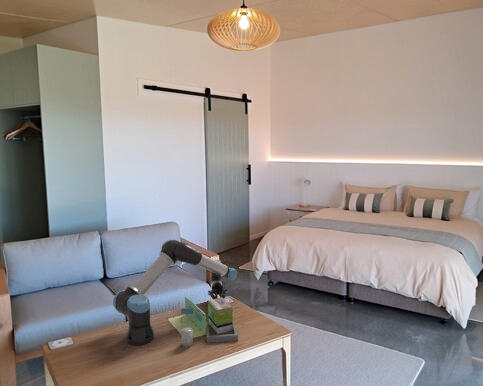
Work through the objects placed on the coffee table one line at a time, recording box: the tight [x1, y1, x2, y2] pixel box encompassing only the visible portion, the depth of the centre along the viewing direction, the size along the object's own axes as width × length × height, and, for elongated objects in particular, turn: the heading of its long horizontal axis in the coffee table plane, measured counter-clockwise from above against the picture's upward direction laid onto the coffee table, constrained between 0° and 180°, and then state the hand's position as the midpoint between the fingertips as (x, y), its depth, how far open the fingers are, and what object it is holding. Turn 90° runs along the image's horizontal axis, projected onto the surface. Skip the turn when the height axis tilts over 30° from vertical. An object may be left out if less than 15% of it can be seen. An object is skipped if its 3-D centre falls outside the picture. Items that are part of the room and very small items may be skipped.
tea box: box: [207, 298, 234, 335], centre depth 231 cm, size 15×10×15 cm
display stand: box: [167, 295, 207, 339], centre depth 233 cm, size 30×12×12 cm, turn 30°
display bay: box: [205, 323, 239, 344], centre depth 222 cm, size 17×14×3 cm
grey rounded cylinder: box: [180, 328, 194, 348], centre depth 213 cm, size 6×6×8 cm
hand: (219, 302), depth 243 cm, fingers closed
